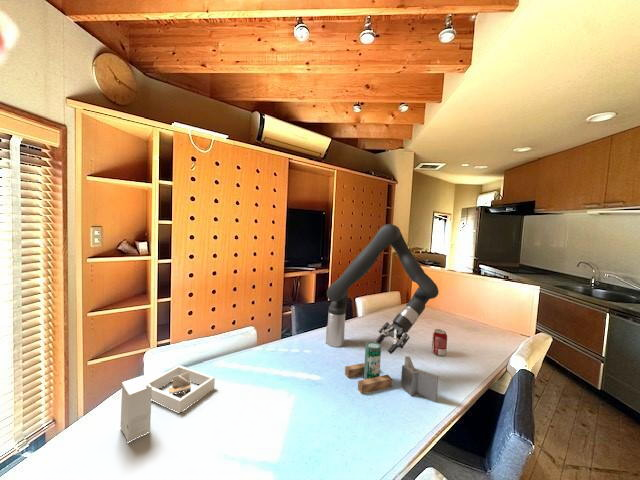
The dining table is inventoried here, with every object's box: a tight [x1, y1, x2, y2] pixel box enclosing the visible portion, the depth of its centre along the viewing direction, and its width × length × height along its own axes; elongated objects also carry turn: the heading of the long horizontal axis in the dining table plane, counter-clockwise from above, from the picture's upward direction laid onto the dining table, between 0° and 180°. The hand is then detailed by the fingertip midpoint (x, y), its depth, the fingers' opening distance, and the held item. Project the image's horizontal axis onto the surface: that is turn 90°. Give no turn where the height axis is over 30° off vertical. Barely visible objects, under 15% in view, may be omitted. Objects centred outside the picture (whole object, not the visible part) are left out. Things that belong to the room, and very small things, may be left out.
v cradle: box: [400, 355, 439, 403], centre depth 104 cm, size 8×18×9 cm, turn 22°
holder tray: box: [148, 364, 216, 413], centre depth 97 cm, size 19×15×4 cm
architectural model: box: [168, 373, 192, 395], centre depth 95 cm, size 3×7×7 cm, turn 126°
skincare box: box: [119, 375, 152, 443], centre depth 78 cm, size 8×6×15 cm
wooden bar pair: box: [344, 362, 393, 395], centre depth 109 cm, size 14×14×4 cm
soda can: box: [431, 328, 448, 357], centre depth 135 cm, size 7×7×12 cm
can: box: [363, 341, 382, 380], centre depth 110 cm, size 6×6×15 cm
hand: (382, 347), depth 111 cm, fingers open, 8 cm apart
